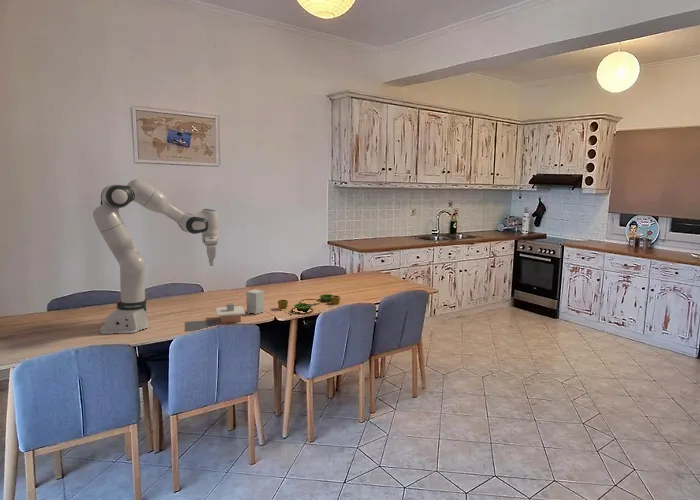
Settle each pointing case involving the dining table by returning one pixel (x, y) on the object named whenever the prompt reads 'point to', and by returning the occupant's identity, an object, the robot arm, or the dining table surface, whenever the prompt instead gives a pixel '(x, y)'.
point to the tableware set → (305, 307)
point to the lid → (230, 310)
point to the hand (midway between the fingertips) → (211, 264)
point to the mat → (199, 325)
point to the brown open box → (230, 319)
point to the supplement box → (255, 301)
